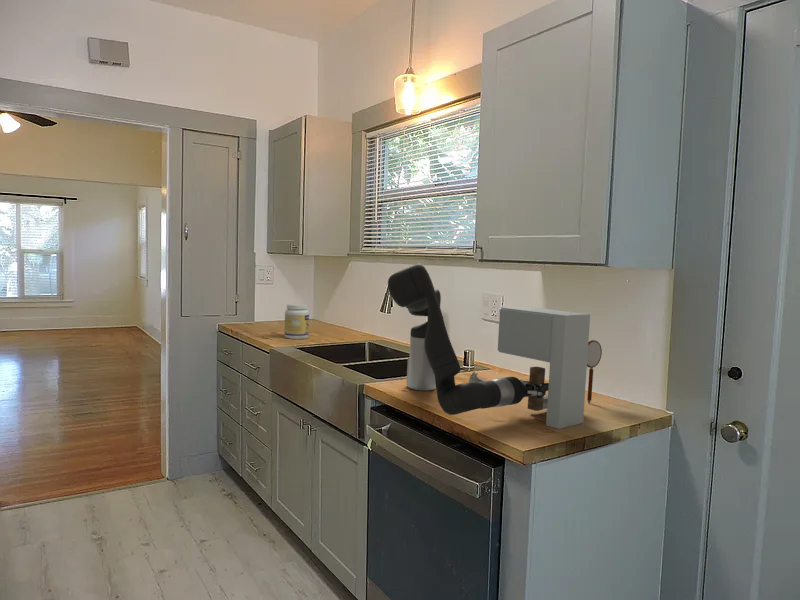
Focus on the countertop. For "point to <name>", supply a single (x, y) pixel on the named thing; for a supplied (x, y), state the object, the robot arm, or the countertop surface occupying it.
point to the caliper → (475, 378)
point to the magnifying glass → (592, 362)
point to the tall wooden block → (537, 377)
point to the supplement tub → (297, 321)
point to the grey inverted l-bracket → (551, 355)
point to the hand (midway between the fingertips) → (543, 385)
